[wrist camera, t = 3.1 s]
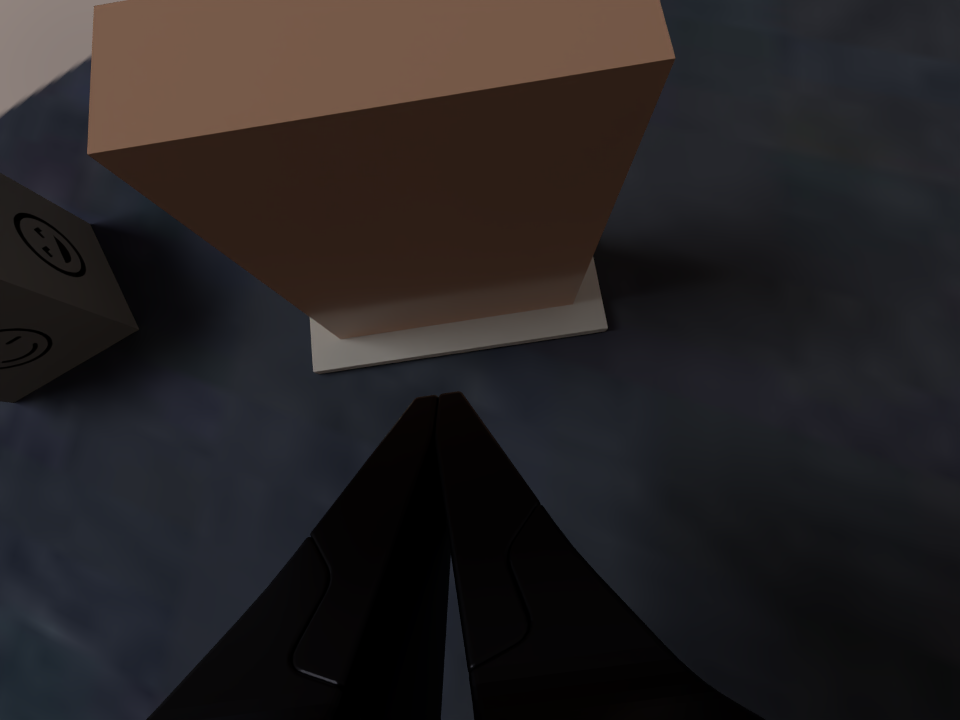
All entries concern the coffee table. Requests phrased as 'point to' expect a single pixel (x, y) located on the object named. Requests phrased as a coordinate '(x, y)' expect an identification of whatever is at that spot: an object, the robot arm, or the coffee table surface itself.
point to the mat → (462, 333)
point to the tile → (383, 142)
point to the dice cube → (51, 293)
